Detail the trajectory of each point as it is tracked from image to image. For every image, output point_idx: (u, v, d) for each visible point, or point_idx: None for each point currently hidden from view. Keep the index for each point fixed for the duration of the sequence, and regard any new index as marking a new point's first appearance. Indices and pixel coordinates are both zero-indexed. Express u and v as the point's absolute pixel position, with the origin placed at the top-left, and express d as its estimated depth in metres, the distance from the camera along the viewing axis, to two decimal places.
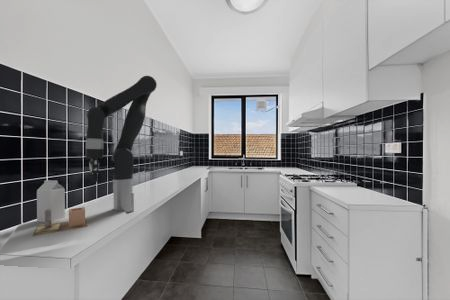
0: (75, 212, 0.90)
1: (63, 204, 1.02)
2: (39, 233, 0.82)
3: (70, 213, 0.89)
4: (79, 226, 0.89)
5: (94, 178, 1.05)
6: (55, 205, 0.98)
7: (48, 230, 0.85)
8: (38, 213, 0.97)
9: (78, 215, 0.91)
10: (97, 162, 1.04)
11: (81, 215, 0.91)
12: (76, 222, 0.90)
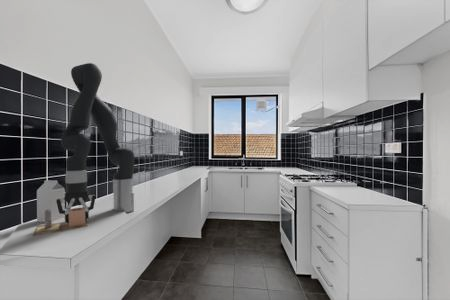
0: (75, 212, 0.90)
1: (63, 204, 1.02)
2: (39, 233, 0.82)
3: (70, 213, 0.89)
4: (79, 226, 0.89)
5: None
6: (55, 205, 0.98)
7: (48, 230, 0.85)
8: (38, 213, 0.97)
9: (78, 215, 0.91)
10: None
11: (81, 215, 0.91)
12: (76, 222, 0.90)
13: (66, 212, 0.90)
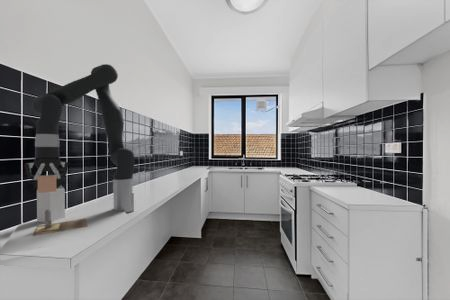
0: (45, 178, 0.85)
1: (63, 204, 1.02)
2: (39, 233, 0.82)
3: (39, 178, 0.84)
4: (79, 226, 0.89)
5: (60, 183, 0.90)
6: (55, 205, 0.98)
7: (48, 230, 0.85)
8: (38, 213, 0.97)
9: (48, 181, 0.86)
10: None
11: (51, 181, 0.86)
12: (46, 188, 0.85)
13: (35, 177, 0.85)
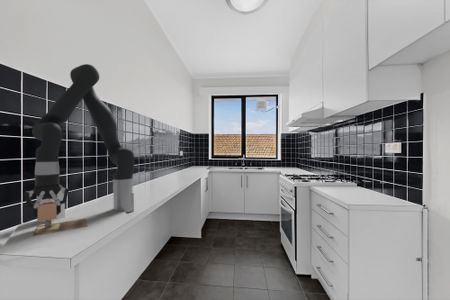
0: (45, 206, 0.85)
1: (63, 204, 1.02)
2: (39, 233, 0.82)
3: (39, 207, 0.84)
4: (79, 226, 0.89)
5: (60, 209, 0.90)
6: None
7: (48, 230, 0.85)
8: None
9: (48, 209, 0.85)
10: None
11: (51, 209, 0.86)
12: (46, 216, 0.85)
13: (35, 206, 0.85)
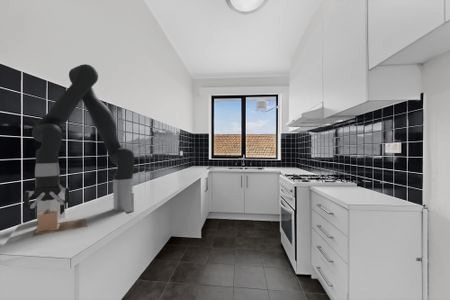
0: (45, 215, 0.85)
1: None
2: (39, 233, 0.82)
3: (40, 216, 0.84)
4: (79, 226, 0.89)
5: None
6: (55, 205, 0.98)
7: (48, 230, 0.85)
8: (38, 213, 0.97)
9: (49, 219, 0.86)
10: None
11: (52, 218, 0.86)
12: (47, 226, 0.85)
13: (32, 206, 0.84)
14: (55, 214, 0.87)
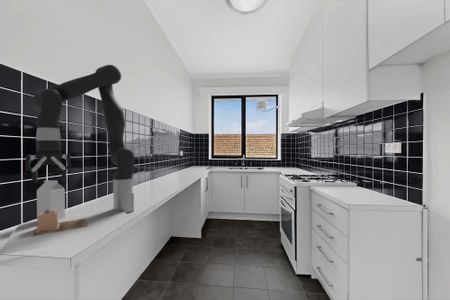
0: (45, 215, 0.85)
1: (63, 204, 1.02)
2: (39, 233, 0.82)
3: (40, 216, 0.84)
4: (79, 226, 0.89)
5: (65, 174, 0.91)
6: (55, 205, 0.98)
7: (48, 230, 0.85)
8: (38, 213, 0.97)
9: (49, 219, 0.86)
10: None
11: (52, 218, 0.86)
12: (47, 226, 0.85)
13: (33, 169, 0.85)
14: (55, 214, 0.87)
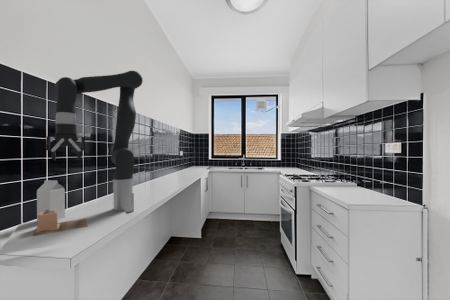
0: (45, 215, 0.85)
1: (63, 204, 1.02)
2: (39, 233, 0.82)
3: (40, 216, 0.84)
4: (79, 226, 0.89)
5: (80, 155, 1.01)
6: (55, 205, 0.98)
7: (48, 230, 0.85)
8: (38, 213, 0.97)
9: (49, 219, 0.86)
10: None
11: (52, 218, 0.86)
12: (47, 226, 0.85)
13: (52, 149, 0.95)
14: (55, 214, 0.87)
